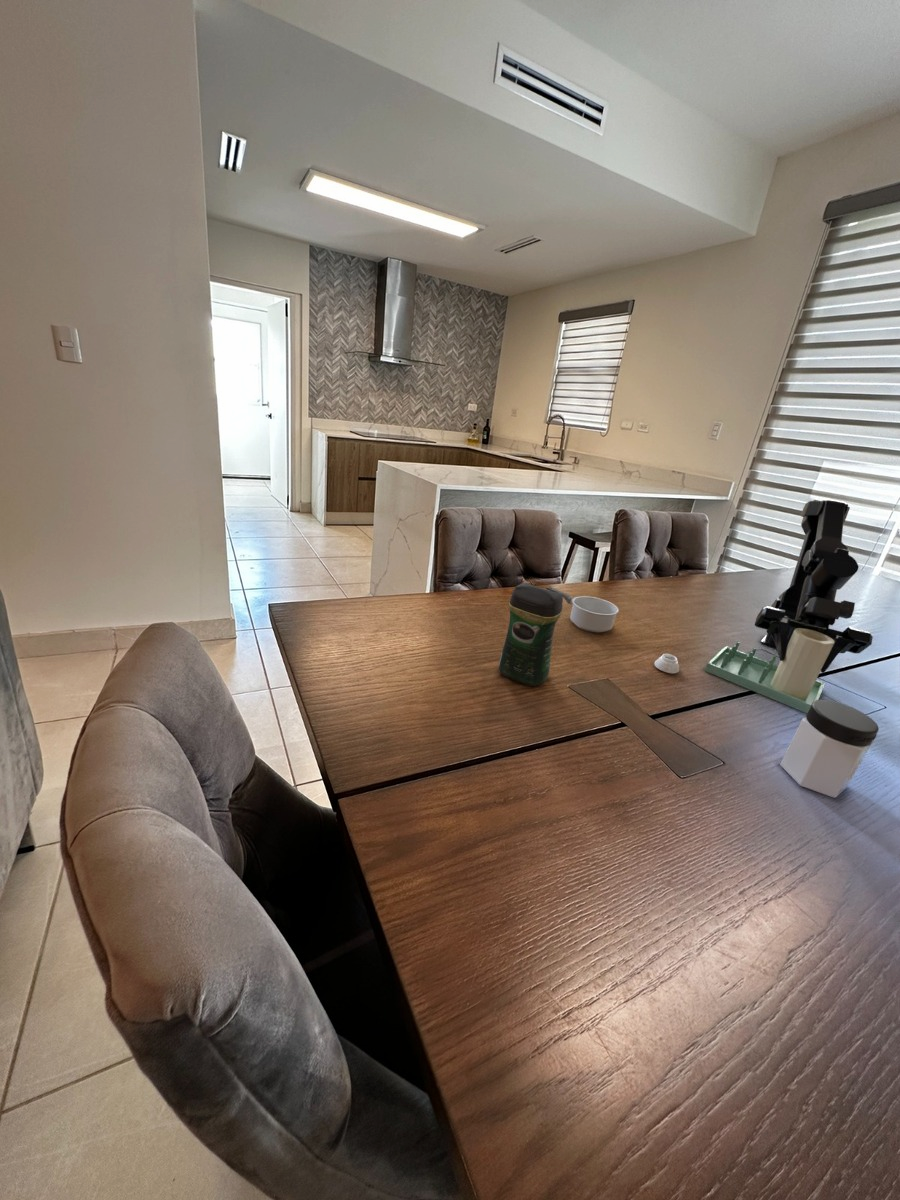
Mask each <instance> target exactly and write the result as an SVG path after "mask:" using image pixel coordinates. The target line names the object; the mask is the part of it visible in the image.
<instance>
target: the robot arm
mask: <svg viewBox="0 0 900 1200" xmlns="http://www.w3.org/2000/svg"><path fill="white" fill-rule="evenodd" d="M850 509H851V507H850V506H849V504H848V503H846V502H845V501H838V500H834V499H833V500H832V499H821V500H819V499H812V500H809V501H807V502H806V503H805V505H803V508H802V511H801V514H800V517H802V520H801V523H800V526H801V528H802V530H803V533H804V535H805V536H804V539H803V542H802V545H801V548H800V552H799V556H798V559H797V561H796V565H795V569H794V571H793V575H792V578H791V581H790V585H789V587H788V588H787V589H785V590H783V592H782V593H781V594H780V595H779V596H778V598H775V600H774V601H773V602H772V604H771V606H769V605H765V606H764V607H762V608H761V610H760V611H759V613H757V616H756V618H755V622H754V626H755V627H756V628H759V629H763V630H766V634H765V636H764V637H763V638H762V639H761V640H760V643H761V644H764V645H766V646H769V647H771V648H773V649H776V651H777V654H778V658H779V662H780V661H783V660H784V657H785V654H786V648H787V645H788V643H789V641H790V639H791V636H792V634H793V632H794V630H795V629H796V628H804V629H810V630H814V631H817V632H820V633H823V634H825V635H827V636H829V637H830V638H832V639H833V640H834V641H835V642H834V645H833V647H832V649H831V651H830V653H829V655H828V657H827V659H826V661H825V663H824V665H823V667H822V669H821V671H820V674H825V672H826V671H827V670H828V668H830V666H831V664H832V663H833V662H834V660H835V659H836V658H837V656H838V655H839V654H845V653H850V654H861V653H862V652H863V651H865V650H866V649H868V648H869V647H871V646H872V644H873V638H874V637H873V635H872V633H871V632H870V631H868V630H863V629H860V628H855V627H852V626H847V628H846V629H844V630H843V631H841V630H836V629H833V628H830V626H834V625H835V623H836V620H839V618H842V619H846V620H847V619H851V618H852V616H853V613H854V611H855V605H856V602H853V601H849V600H842V601H840V602H839V601H836V595H837V591H838V590H841V589H842V588H843V587H844V586H845V585H846V584H847V583H848V582H849V581H850V580H851V579H852V577H854V576H855V575H856V574H857V572H858V570H859V564H858V561H857V560H856V559H855V558H854V557H853V556H851V555H850V554H849V553H850V549H849V547H848V546H847V545H846V544H844V543H843V533H844V531H843V530H844V523H845V522H846V519H847V517H848V514H849V511H850Z"/></svg>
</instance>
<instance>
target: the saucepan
mask: <svg viewBox="0 0 900 1200" xmlns="http://www.w3.org/2000/svg"><path fill="white" fill-rule="evenodd" d="M545 589H546V590H549V591H552V592H556V593H560V594H562V596H563V600H565V601H566V603H567V604H569V605H572V607H571V611H570V616H569V619H570V621H571V622H572V623H573V624H574V625H575V626H576V627H578V628H579V629H581V630H584V631H587V632H591V633H603V632H608V631H610V630H612V629H613V627H614V623H615V620H616V616H617V614H618V613H619V610H620V609H619V607H618V606H617V605H616V604H614V603H612V602H610V601H608V600H606V599H603V598H599V597H594V596H588V595H579V596H575V597H573V596H571V595H569V594H567V593H565V592H563V591H561V590H559V589H556V588H554V587H551V586H549V585H548V586H546V587H545Z"/></svg>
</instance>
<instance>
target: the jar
mask: <svg viewBox="0 0 900 1200" xmlns="http://www.w3.org/2000/svg"><path fill="white" fill-rule="evenodd" d="M879 729H880V728H879V725H878V723H876V722H875V720H874V719H873V718H871V717H870V716H869V715H867V714H865V713H864V712H862V711H861V710H858V709H857V708H854V707H852V706H850V705H848V704H845V703H842V702H838V701H834V700H830V699H819V700H816V701H814V702H813V703H812V705H811V707H810V709H809V711H808V713H806V715H805V716H804V717H803V718H802V719H801V721H800V722H799V725H798V727H797V729H796V730H795V733H794V735H793V737H792V739H791V740H790V743H789V746H788V748H787V749H786V751H785V753H784V756H783V757H782V759H781V762H780V764H779V765H780V767H781V768H782V769H783V770H784V771H785V772H786V773H788V775H789V776H790V777H791V778H792V779H793V780H794V781H795V782H796V783H797V784H798V785H799V786H800V787H803V788H806V789H808V790H810V791H811V790H812V791H814V792H817V793H818V794H819V793H820V794H822V795H825V796H827V797H830V798H837V797H838V796H839V795H840V794H842V792H843V791H844V790H846V789H847V788H848V786H849V784H850V783H851V781H852V779H853V777H854V776H855V774H856V772H858V771H857V770H858V769H859V768H860V765H861V764H862V763H863V760H864V758H865V756H866V755H867V753H868V751H869V750H870V748H871V746H872V744H873V743H874V740H875V739H876V737H877V735H878V733H879Z"/></svg>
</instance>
